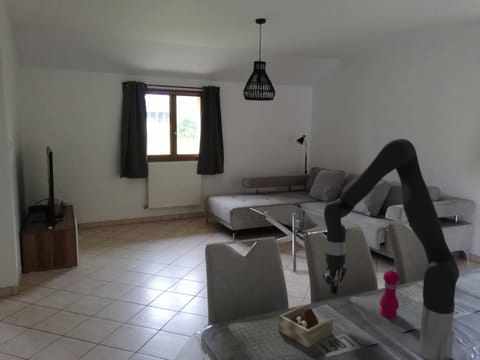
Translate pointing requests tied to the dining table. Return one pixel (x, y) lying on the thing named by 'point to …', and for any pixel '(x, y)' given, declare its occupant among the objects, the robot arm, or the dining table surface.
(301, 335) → the birch holder
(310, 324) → the poop emoji
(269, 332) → the dining table surface
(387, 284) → the pepper mill
